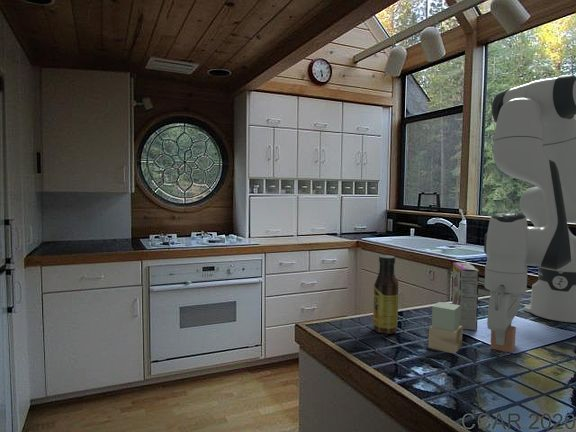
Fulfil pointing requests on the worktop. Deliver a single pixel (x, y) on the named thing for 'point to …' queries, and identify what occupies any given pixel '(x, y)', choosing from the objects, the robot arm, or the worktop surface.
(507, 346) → the terracotta cube
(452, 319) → the sage cube
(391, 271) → the sauce bottle
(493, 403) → the worktop surface
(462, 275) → the candy bar box
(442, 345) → the beige block
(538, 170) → the robot arm
